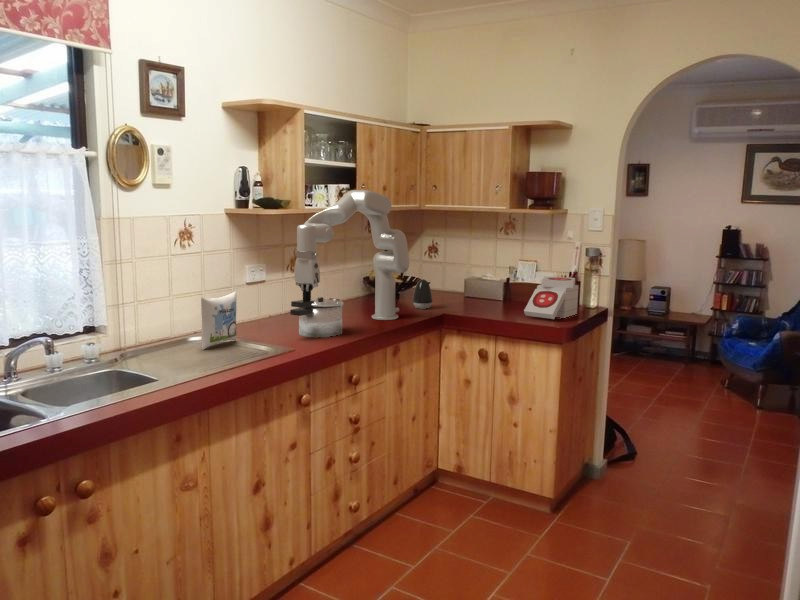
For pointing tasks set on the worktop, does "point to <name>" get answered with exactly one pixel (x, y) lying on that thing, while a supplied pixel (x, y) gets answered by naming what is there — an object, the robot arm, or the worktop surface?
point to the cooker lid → (317, 303)
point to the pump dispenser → (422, 295)
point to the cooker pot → (319, 321)
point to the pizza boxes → (554, 298)
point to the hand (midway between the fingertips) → (306, 300)
